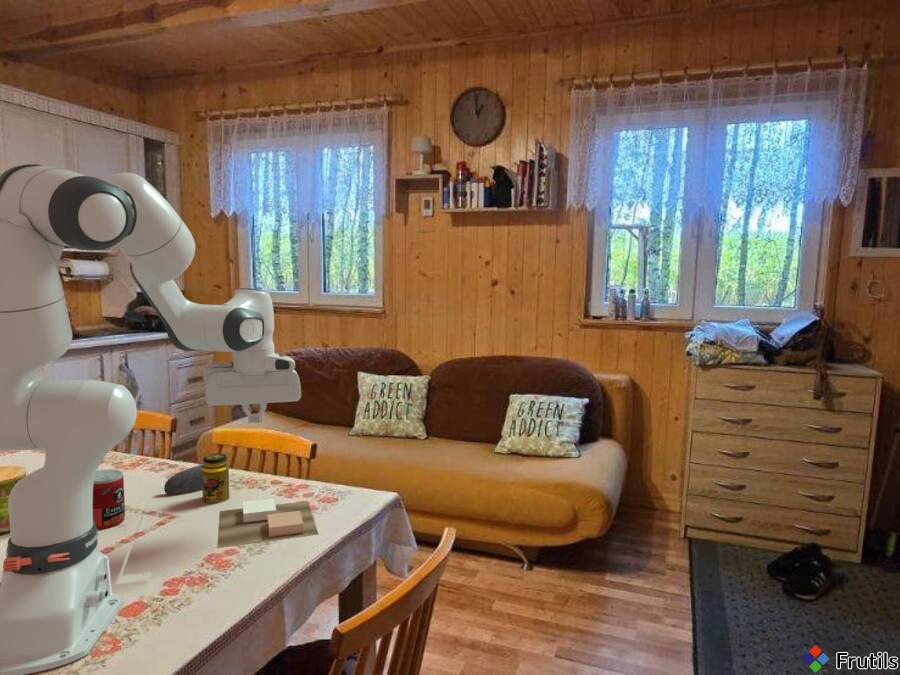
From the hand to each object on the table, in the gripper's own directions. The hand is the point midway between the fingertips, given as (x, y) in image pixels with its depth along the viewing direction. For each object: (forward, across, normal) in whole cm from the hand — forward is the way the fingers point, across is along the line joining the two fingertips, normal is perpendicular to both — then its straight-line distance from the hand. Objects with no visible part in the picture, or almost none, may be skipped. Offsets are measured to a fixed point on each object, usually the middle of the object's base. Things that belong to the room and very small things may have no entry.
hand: (254, 422), depth 130 cm
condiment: (+23, -9, +14) cm, 28 cm away
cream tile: (+21, -3, 0) cm, 21 cm away
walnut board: (+23, +2, -4) cm, 23 cm away
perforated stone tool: (+23, -14, +22) cm, 35 cm away
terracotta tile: (+21, +2, -9) cm, 23 cm away
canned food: (+23, -32, +9) cm, 40 cm away
